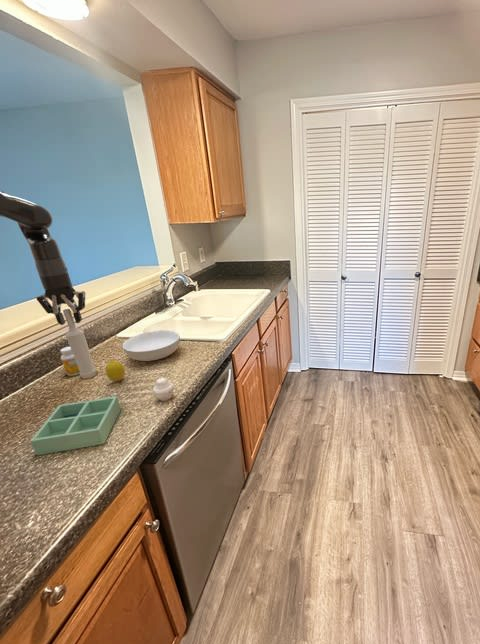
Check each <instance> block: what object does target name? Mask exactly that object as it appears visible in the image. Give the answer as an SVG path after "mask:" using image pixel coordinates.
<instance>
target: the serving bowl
mask: <svg viewBox="0 0 480 644" xmlns="http://www.w3.org/2000/svg"><path fill="white" fill-rule="evenodd" d="M180 343H181V335H180V333H178V332H177V331H174V330H170V329H158V330H157V329H156V330H152V331H146V332H142V333H139V334H136V335H133V336H131V337H130V338H127V339H126V340H125V341H124V342H123V343H122V350H123V352H124V353H125V354H126V356H127V357H129V358H131V359H132V360H135V361H140V362H152V361H157V360H162V359H163V358H167V357H168V356H170V355H172V354H173V353H174V352H175V351H176V350H177V349H178V348H179V346H180Z"/></svg>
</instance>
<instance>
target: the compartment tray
mask: <svg viewBox="0 0 480 644" xmlns="http://www.w3.org/2000/svg"><path fill="white" fill-rule="evenodd" d="M121 410H122V407H121V404H120V401H119V398H118V396H111V397H104V398H98V399H90V400H83V401H78V402H77V401H76V402H71V403H64V404H58V406H57V407H56V408H55V410H53V412H52V413H51V415H50V416H49V417H48V418H47V420H46V421H45V422H44V423H43V424H42V426H40V429H38V430H37V432H36V433H35V434H34V436H33V437H32V438H31V440H29V443H30V444H31V446H32V448H33V451H34V453H35V456H42V455H43V456H44V455H48V454H52V453H53V454H54V453H59V452H65V451H71V450H76V449H82V448H87V447H88V448H89V447H94V446H100V445H105V443H106V441H107V439H108V437H109V435H110V433H111V431H112V429H113V427H114V425H115V422H116V421H117V418H118V416H119V414H120V412H121Z"/></svg>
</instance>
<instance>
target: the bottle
mask: <svg viewBox="0 0 480 644" xmlns="http://www.w3.org/2000/svg"><path fill="white" fill-rule="evenodd" d="M62 314H63V317H64V319H65V322H66V323H67V326H68V331H67V333H66V334H65V338H66V340H67V343H68V345H69V347H70V348H71V350H72V353H73V355H74V358H75V360H76V363H77V365H78V368H79V371H80V374H79V376H80V378H82V379H84V380H85V379H86V380H87V379H90V378H91V379H92V378H93V377H95V376H96V375H97V373H98V372H97V371H98V370H97V368H96V367H95V364H94V361H93V358H92V355H91V351H90V348H89V345H88V342H87V339H86V336H85V332H84V330H82V329H79V328H78V327H77V326H76V322H75V319H74V316H73V313H72V310H71V308H64V309H62Z"/></svg>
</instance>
